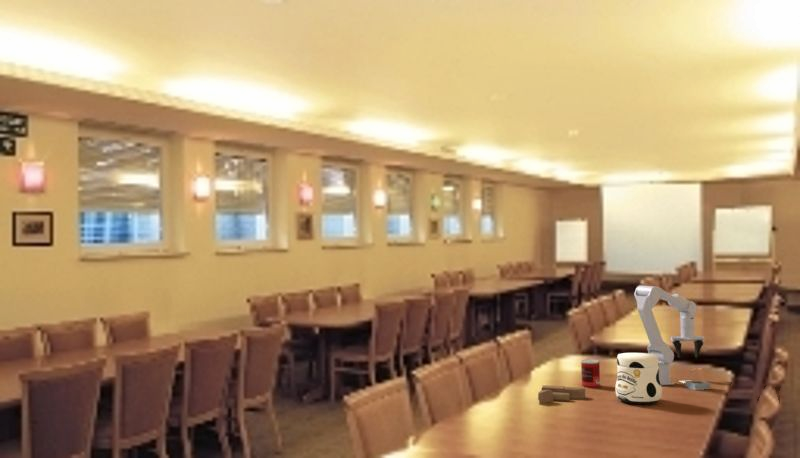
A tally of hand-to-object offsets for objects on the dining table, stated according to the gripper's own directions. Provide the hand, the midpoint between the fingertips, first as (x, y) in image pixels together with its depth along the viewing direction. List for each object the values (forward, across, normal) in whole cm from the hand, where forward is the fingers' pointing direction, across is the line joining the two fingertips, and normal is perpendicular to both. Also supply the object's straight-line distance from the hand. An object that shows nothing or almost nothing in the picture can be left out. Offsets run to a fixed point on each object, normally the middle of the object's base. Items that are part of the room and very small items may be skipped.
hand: (688, 357), depth 318 cm
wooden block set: (+11, -64, -40) cm, 76 cm away
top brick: (+7, -3, -19) cm, 20 cm away
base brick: (+10, -3, -18) cm, 21 cm away
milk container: (+10, -34, -42) cm, 56 cm away
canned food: (+10, -46, -13) cm, 49 cm away
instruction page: (+10, -2, -8) cm, 13 cm away
